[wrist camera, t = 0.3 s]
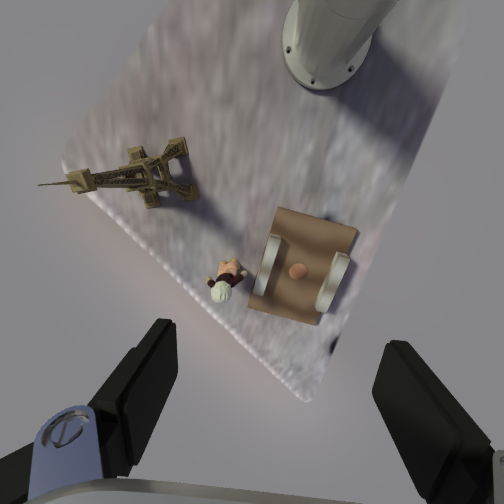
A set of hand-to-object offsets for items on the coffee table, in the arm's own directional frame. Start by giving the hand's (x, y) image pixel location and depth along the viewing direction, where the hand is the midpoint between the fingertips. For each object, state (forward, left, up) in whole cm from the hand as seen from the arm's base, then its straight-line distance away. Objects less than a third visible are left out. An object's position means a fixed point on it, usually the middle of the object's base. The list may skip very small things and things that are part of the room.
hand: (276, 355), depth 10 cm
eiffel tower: (-1, -20, -36) cm, 41 cm away
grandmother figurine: (+13, -4, -36) cm, 38 cm away
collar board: (+10, +9, -35) cm, 38 cm away
